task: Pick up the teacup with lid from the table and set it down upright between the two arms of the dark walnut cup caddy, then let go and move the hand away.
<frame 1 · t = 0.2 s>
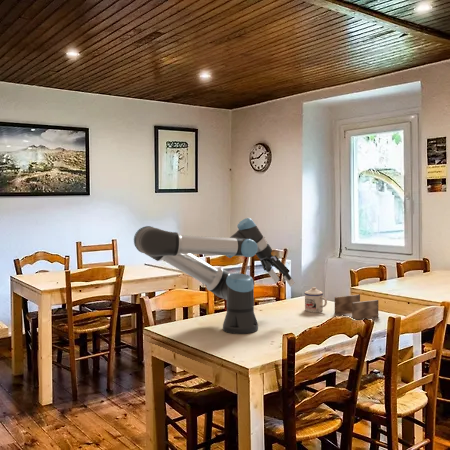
hand: (284, 282, 254), 16 cm above the table, tool tilted 35°, fingers open, 13 cm apart
caddy: (356, 315, 254), on the table
teacup with lid: (316, 311, 265), on the table
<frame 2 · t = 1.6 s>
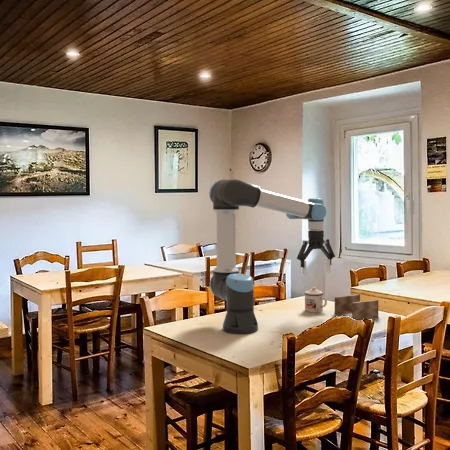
hand: (316, 273, 263), 19 cm above the table, tool pointing down, fingers open, 13 cm apart
nothing on the table moved.
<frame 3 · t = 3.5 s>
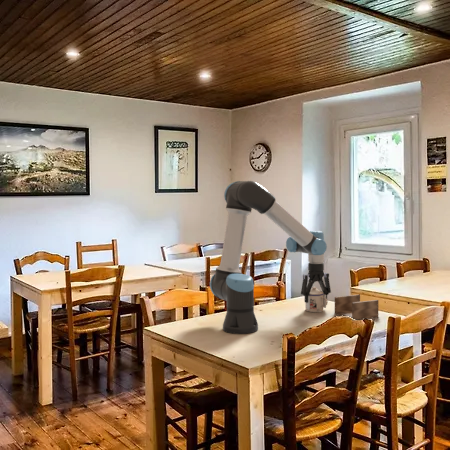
hand: (315, 308, 265), 1 cm above the table, tool pointing down, fingers closed on teacup with lid, 8 cm apart
teacup with lid: (316, 311, 265), on the table, touching gripper
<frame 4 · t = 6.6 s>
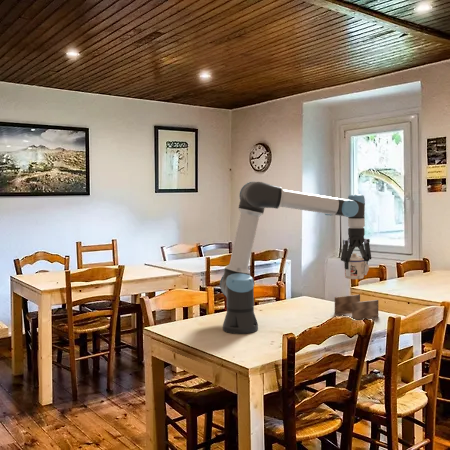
hand: (356, 275, 253), 19 cm above the table, tool pointing down, fingers closed on teacup with lid, 8 cm apart
teacup with lid: (357, 278, 253), point 18 cm above the table, touching gripper
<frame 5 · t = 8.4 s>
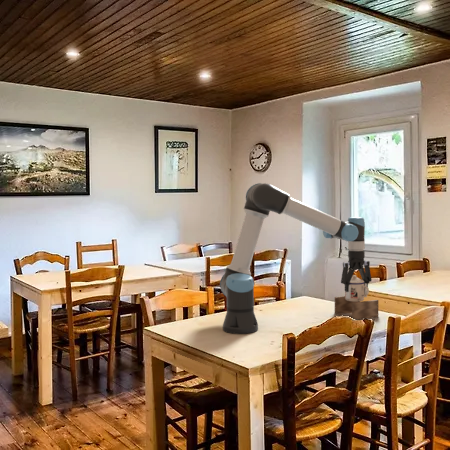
hand: (356, 297, 254), 9 cm above the table, tool pointing down, fingers closed on teacup with lid, 8 cm apart
teacup with lid: (357, 300, 254), point 7 cm above the table, touching gripper
when the fingers open (4 cm above the table, at t = 9.9 s): teacup with lid drops 2 cm, resting on caddy.
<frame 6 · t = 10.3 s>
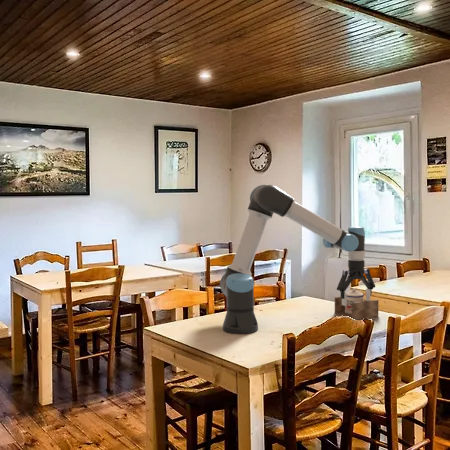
hand: (356, 304, 254), 5 cm above the table, tool pointing down, fingers open, 13 cm apart
teacup with lid: (356, 313, 255), point 1 cm above the table, touching caddy
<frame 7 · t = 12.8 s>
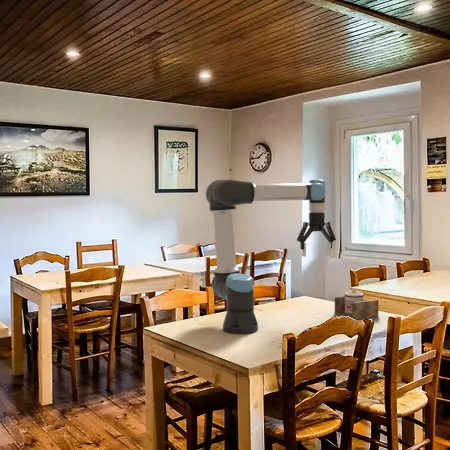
hand: (316, 255, 259), 28 cm above the table, tool pointing down, fingers open, 13 cm apart
nothing on the table moved.
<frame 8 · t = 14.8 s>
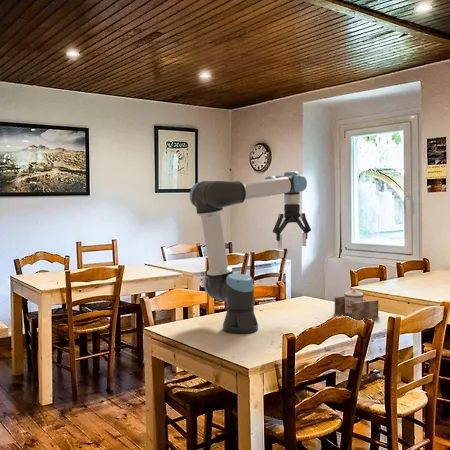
hand: (292, 246, 264), 32 cm above the table, tool pointing down, fingers open, 13 cm apart
nothing on the table moved.
at the end: teacup with lid inside the target area on the caddy (0.4 cm from its centre), point 0.8 cm above the caddy's base; teacup with lid tilted 0°; the gripper is holding nothing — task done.
